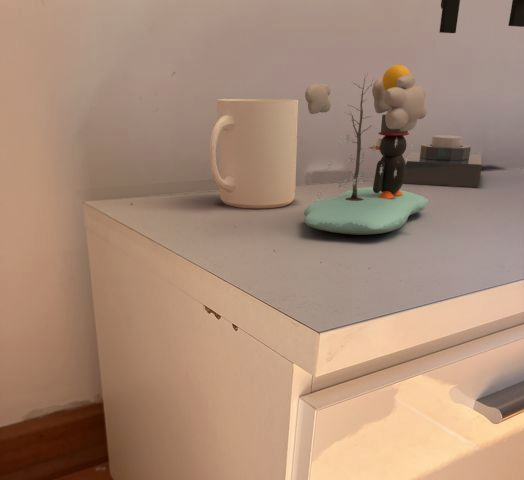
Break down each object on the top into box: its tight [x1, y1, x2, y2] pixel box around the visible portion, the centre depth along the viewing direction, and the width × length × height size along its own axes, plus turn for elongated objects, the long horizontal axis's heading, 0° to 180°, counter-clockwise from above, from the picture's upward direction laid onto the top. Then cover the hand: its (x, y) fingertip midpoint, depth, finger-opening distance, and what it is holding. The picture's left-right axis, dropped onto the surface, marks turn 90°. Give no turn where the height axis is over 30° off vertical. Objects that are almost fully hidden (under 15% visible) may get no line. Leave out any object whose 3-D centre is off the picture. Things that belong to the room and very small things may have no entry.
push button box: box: [403, 142, 483, 188], centre depth 89 cm, size 11×13×5 cm
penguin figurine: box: [303, 64, 429, 236], centre depth 58 cm, size 20×11×15 cm, turn 149°
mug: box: [208, 98, 299, 210], centre depth 68 cm, size 10×12×12 cm
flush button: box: [430, 134, 463, 147], centre depth 88 cm, size 4×4×2 cm
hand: (480, 30), depth 84 cm, fingers open, 13 cm apart
